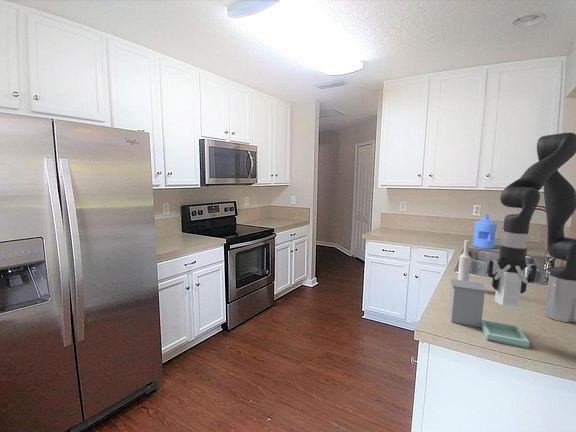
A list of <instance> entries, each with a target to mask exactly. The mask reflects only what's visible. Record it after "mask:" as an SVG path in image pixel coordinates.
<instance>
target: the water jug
mask: <svg viewBox="0 0 576 432" xmlns="http://www.w3.org/2000/svg"><path fill="white" fill-rule="evenodd" d="M489 215H490V214H488V213H484V215H483V217H484V218H482V219H479V220H476V221H475V222H474V225H473V226H474V229H473V240H472V247H475V248H476V249H477V248H478V249H485V250H492V249H495V244H496V242H495V241H496V240H495V238H496V237H495V235H496V232H497V228H498V224H497V223H496V222H494V221H493V220H491V219H489Z"/></svg>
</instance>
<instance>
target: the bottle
mask: <svg viewBox="0 0 576 432" xmlns="http://www.w3.org/2000/svg"><path fill="white" fill-rule="evenodd" d="M463 245H464V246H463V253H462V254H460V255H459V257H458V258H459V260H458V261H459V262H458V272H457V273H458V274H457V280H463V281H469V277H470V272H471V271H470V269H471V261H472V257H471V256H470V254H469V247H470V240H468V239H464V244H463Z"/></svg>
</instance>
